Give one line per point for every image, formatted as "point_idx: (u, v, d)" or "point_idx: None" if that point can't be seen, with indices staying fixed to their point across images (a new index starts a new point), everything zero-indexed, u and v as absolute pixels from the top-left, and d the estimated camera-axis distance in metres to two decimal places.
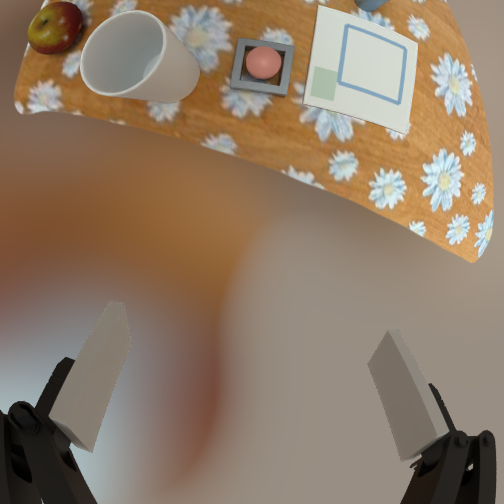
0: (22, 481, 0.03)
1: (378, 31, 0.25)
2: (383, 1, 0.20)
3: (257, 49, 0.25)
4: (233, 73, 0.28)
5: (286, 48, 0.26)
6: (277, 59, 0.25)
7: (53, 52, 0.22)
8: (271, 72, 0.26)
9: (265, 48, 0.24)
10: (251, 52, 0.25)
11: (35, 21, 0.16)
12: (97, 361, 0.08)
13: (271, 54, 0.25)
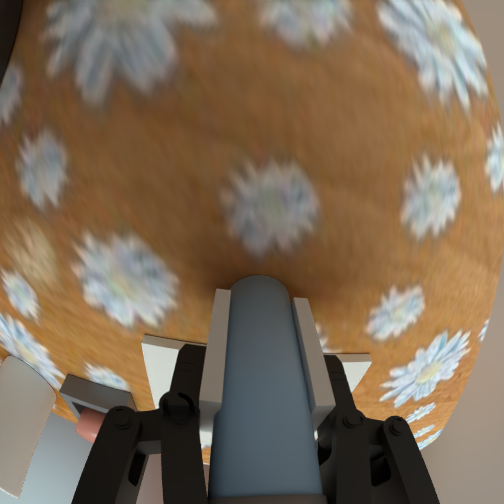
0: (129, 486, 0.05)
1: None
2: None
3: (80, 429, 0.17)
4: (77, 417, 0.20)
5: None
6: None
7: None
8: None
9: (87, 431, 0.17)
10: (76, 429, 0.17)
11: None
12: None
13: None
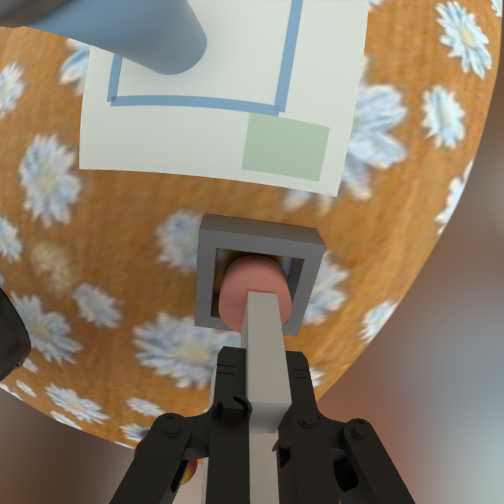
0: (170, 493, 0.05)
1: None
2: None
3: (227, 319, 0.15)
4: None
5: (208, 246, 0.15)
6: (249, 285, 0.14)
7: (196, 463, 0.29)
8: (282, 295, 0.14)
9: (223, 306, 0.15)
10: (235, 327, 0.15)
11: None
12: None
13: (237, 296, 0.14)
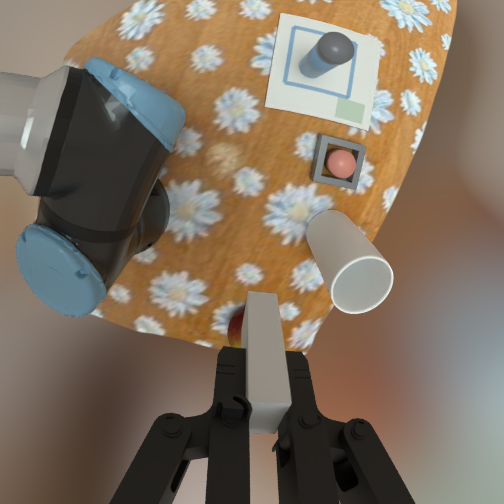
0: (170, 493, 0.05)
1: (282, 51, 0.30)
2: None
3: (332, 168, 0.36)
4: (345, 186, 0.38)
5: (324, 142, 0.35)
6: (341, 153, 0.35)
7: None
8: (352, 159, 0.35)
9: (331, 162, 0.35)
10: (334, 173, 0.36)
11: None
12: None
13: (337, 157, 0.35)
